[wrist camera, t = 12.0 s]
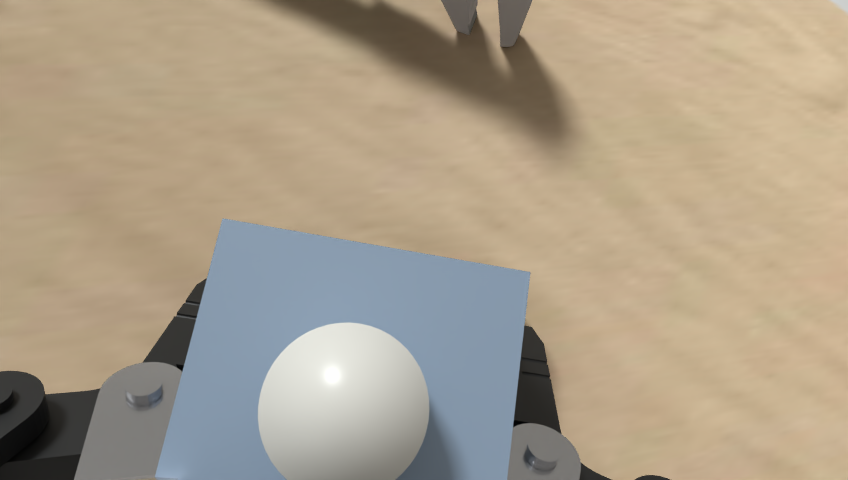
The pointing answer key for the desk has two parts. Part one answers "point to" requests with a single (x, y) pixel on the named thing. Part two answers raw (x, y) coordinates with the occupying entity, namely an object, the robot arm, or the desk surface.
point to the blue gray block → (346, 364)
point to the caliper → (511, 17)
